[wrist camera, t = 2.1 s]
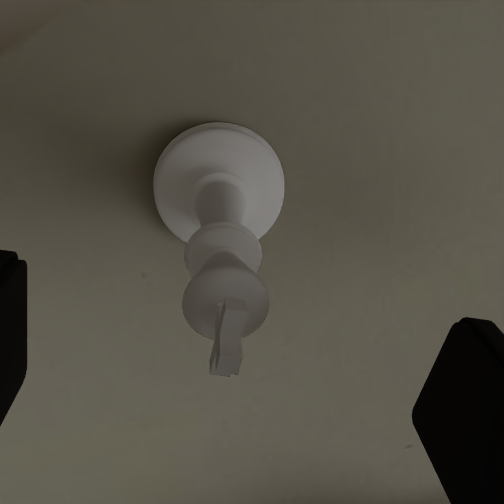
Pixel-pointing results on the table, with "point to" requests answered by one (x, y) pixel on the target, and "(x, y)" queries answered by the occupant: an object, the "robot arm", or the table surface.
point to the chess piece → (221, 228)
